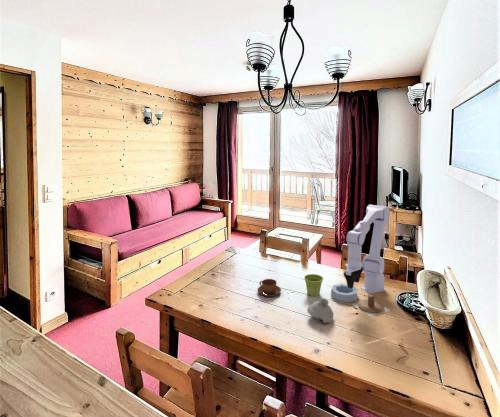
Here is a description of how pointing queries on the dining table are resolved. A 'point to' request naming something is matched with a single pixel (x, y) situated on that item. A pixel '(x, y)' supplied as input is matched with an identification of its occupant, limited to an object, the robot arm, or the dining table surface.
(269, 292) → the cup and saucer
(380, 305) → the lid
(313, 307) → the grey clay mound
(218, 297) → the dining table surface
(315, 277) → the plant pot
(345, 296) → the bowl
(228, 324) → the dining table surface
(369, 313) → the mat
